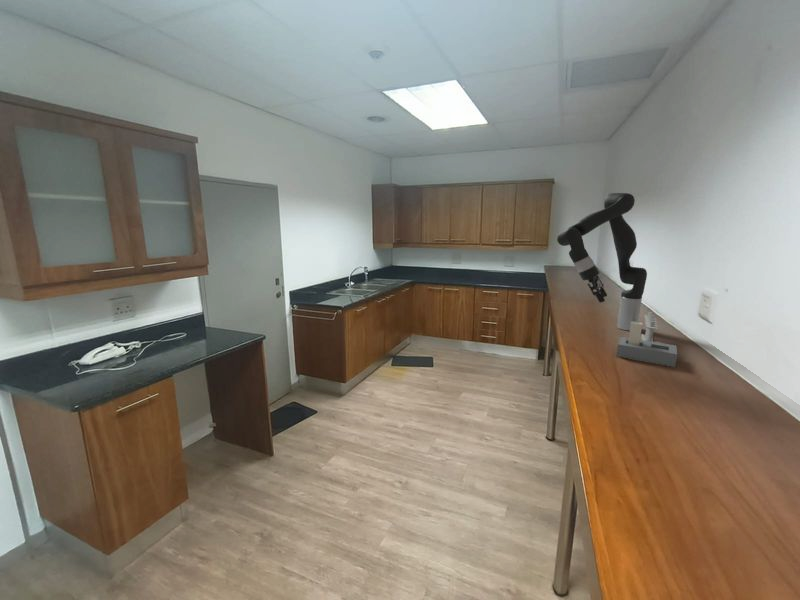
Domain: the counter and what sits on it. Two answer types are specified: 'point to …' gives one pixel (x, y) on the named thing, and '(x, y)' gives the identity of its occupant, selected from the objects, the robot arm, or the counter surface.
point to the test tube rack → (649, 327)
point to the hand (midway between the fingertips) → (603, 299)
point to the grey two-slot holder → (648, 352)
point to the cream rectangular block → (635, 333)
